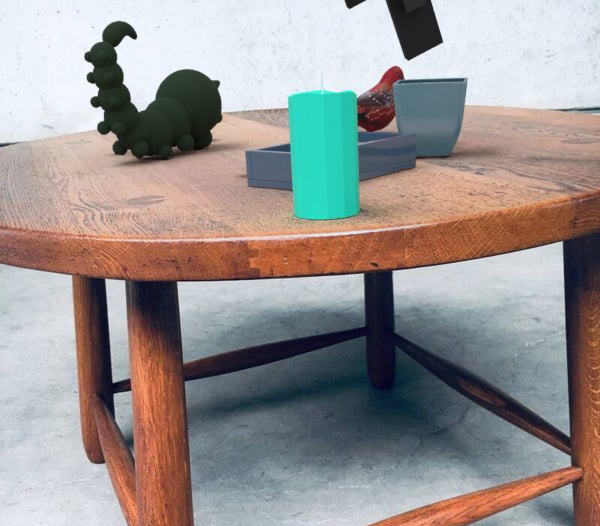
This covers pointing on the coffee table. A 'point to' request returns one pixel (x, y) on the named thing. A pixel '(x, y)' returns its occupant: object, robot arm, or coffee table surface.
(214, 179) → the coffee table surface
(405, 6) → the robot arm
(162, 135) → the toy figurine
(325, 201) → the candle
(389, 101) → the decorative bird figurine
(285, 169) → the divided storage tray
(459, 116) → the flower pot
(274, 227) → the coffee table surface
